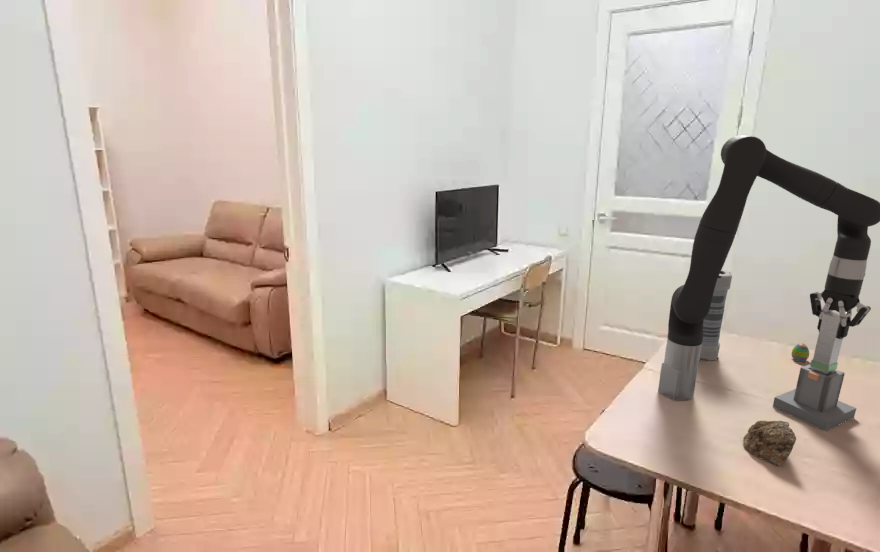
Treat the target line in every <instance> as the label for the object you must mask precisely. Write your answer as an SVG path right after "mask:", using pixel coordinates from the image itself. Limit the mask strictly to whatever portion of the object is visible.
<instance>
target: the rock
mask: <svg viewBox="0 0 880 552" xmlns="http://www.w3.org/2000/svg"><path fill="white" fill-rule="evenodd" d="M742 441H743V442H742V443H743V447H744V449H745V450H746V451H747V452H748V453H749V454H751V455H752V456H754V457H756V458H759V459H762V460H764V461H765V462H768V463H770V464H772V465H774V466H776V467H779V466H781V465H782V464H783V463H784V462H786V460H787V459H788V458H789V456H790V455H791V453H792V451H793V448H794V446H795V444H796V441H797V435H796V434H795V432H794V431H793V428H791V427H790V423H789V421H783V420H770V421H769V420H757V421H755V423H754V424H752V425H751V426H750V427H749V428H748V430H747V433H746V434H745V435H744V437H743V439H742Z"/></svg>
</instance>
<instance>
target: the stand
mask: <svg viewBox="0 0 880 552" xmlns="http://www.w3.org/2000/svg"><path fill="white" fill-rule="evenodd" d="M810 364H811V363H810ZM810 364H807V365H804V366H801V367H800V370H799V374H798V377H797V382H796V387H795V388H794V389H792V390H789V391H786V392H784V393H781V394H779V395H776V396H775V397H774V399H773V402H772V403H773V404H772V407H773V408H775V409H778V410H780V411H782V412H783V413H785V414H788V415H790V416H791V417H795V418H796V419H799V421H802V422H805V423H806V424H809V425H811V426H814V427H815V428H817V429H820V430H822V431H824V432H827V431H829V430H831V428H832V429H833V427H834V428H835V426H836V427H837V425H838V426H840V425H842V424H844V423H846V422H848V421H850V420H852V418H853V419H855V415H856V411H857V408H856V406H855V407H854V406H852V405H849V404H847V403H845V402H843V401H840V400H839V398H840V394H841V390H842V387H843V382H844V379H845V374H846V373H845V372H843V371H841V370H839V369H836V370H835V372H834V374H831V375H829V376H826V375H823V374H821V373H818V372H816V371H813V370H811V366H810ZM845 421H846V422H845ZM843 422H844V423H843ZM841 423H842V424H841ZM839 424H840V425H839Z"/></svg>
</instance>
